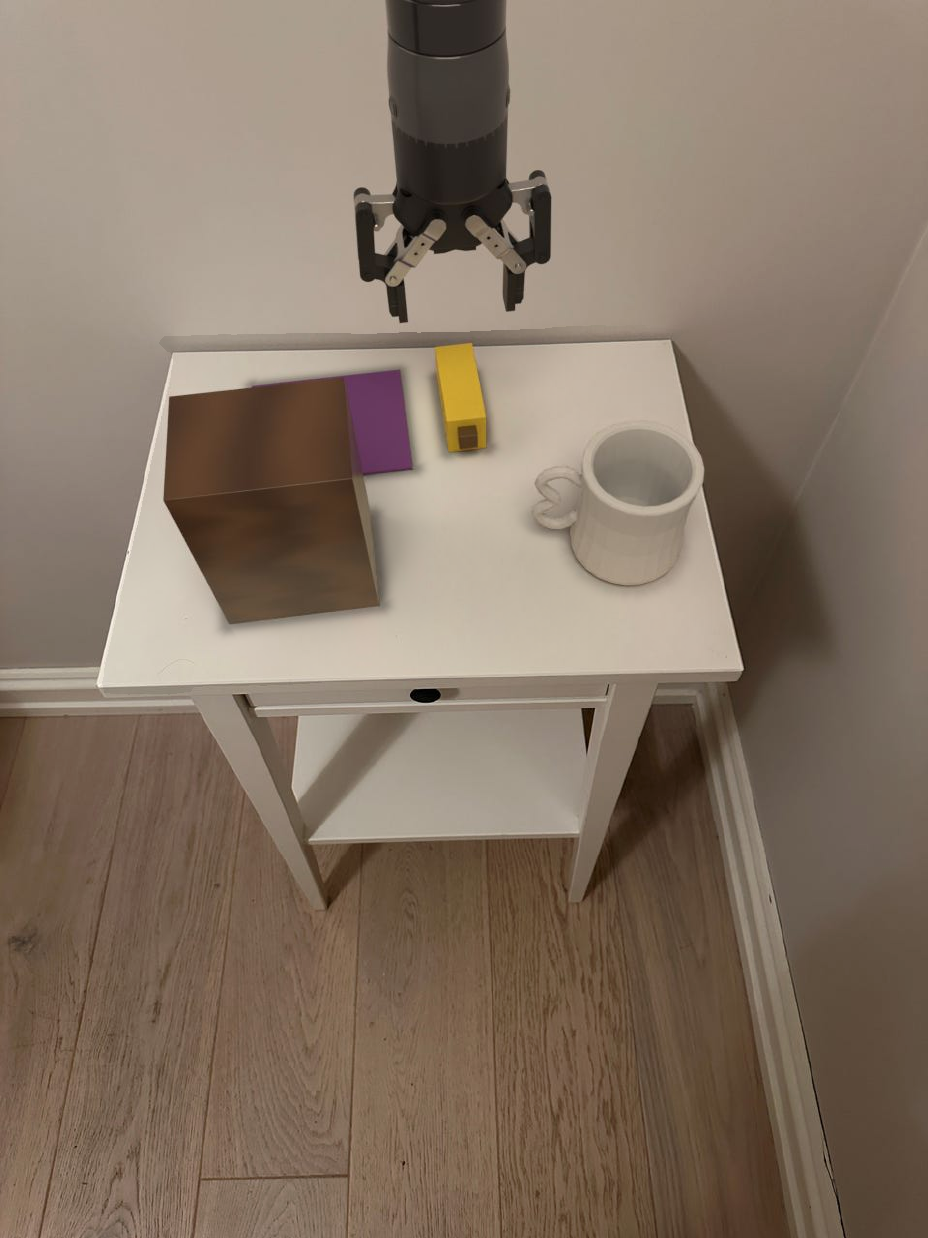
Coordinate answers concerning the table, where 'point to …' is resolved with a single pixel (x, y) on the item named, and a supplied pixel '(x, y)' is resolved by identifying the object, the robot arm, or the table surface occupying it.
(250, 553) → the block
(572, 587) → the table surface
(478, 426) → the yellow brick
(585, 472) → the mug
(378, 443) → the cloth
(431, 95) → the robot arm
